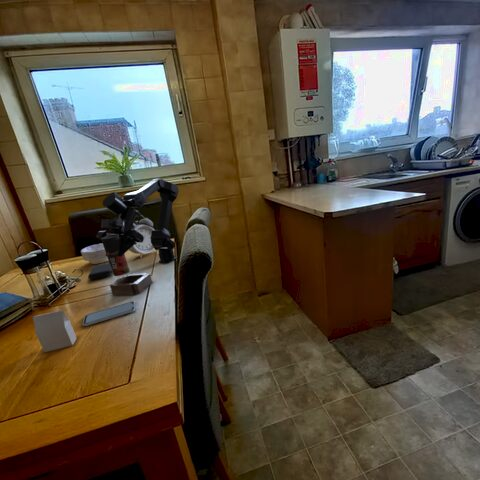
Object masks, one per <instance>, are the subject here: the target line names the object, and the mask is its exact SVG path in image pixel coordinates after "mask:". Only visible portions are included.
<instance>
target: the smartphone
mask: <svg viewBox="0 0 480 480" xmlns="http://www.w3.org/2000/svg"><path fill="white" fill-rule="evenodd" d="M135 311H136V303H135V301H129V302H125V303H121V304H118V305H114V306H111V307H108V308H105V309H101V310H97V311H93V312H90V313H87V314H85V315H84V318H83V321H82V326H83V327H88V326H92V325H94V324H98V323H100V322H105V321H107V320H111V319H115V318H117V317H120V316H124V315H126V314H130V313H133V312H135Z"/></svg>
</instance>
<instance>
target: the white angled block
mask: <svg viewBox="0 0 480 480" xmlns="http://www.w3.org/2000/svg"><path fill="white" fill-rule="evenodd" d="M32 320H33V325H34V332H35V335H36V337H37V339H38V341H39V344H40V347H41V348H42V350H43V352H44V353H49V352H51V351H56V350H60V349H64V348H67V347H71V346H74V344H75V342H76V341H77V338H78V337H77V335H76V333H75V330H74V328H73V324H72V323H71V320H70V319H69V317H68V316H67V315H66V314H65V312H64V311H63V309H60V310H55V311H52V312H47V313H42V314H38V315H33V316H32Z"/></svg>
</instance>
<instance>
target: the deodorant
mask: <svg viewBox="0 0 480 480" xmlns="http://www.w3.org/2000/svg"><path fill="white" fill-rule="evenodd" d="M100 240H101V244H102V243H103V246H104V249H105V251H106V254H107V257H108V260H109V261H108V263H110V266H111V269H112V272H113V273H112V275H113V276H114V277H122V276H124V275H128V274H129V273H130V272H131V270H130V266H129V264H128V261H127V259H126V258H127V257H126V255H125V254H126V253H124V254H123V255H122V256H121V257H119V256H118V253H119V249H120V246H121V243H122V241H121V239H119V236H118V235H117V234H115V235H109V236H105V237H103V238H101V239H100Z"/></svg>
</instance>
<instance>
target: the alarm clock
mask: <svg viewBox="0 0 480 480" xmlns="http://www.w3.org/2000/svg"><path fill="white" fill-rule="evenodd" d="M140 215H141V217H142V218H141V219H140V220H134V223H133V225H134V226H135V228H134V229H131V230H136V231H138V232H139V233H141V234H142V235H143V237H144V240H143V242H140V243H137V242H136V243H137V244H135V245H134V246H132V247H131V248H130V249H129V250H128V251H129V252H130V253H133V254H139V257H140V259H142V257H143V255H147V254H151V253H152V252H154V253H157V250H155V249H154V247H153V245H152V244H151V239H150V238H151V232H152V231H153V230H155V229H154V222H153V221H152V220H151V219H149V217H145V216H144V215H142V214H140Z"/></svg>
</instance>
